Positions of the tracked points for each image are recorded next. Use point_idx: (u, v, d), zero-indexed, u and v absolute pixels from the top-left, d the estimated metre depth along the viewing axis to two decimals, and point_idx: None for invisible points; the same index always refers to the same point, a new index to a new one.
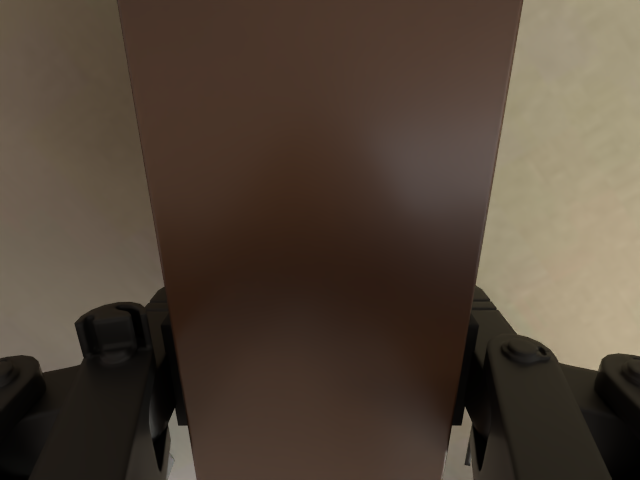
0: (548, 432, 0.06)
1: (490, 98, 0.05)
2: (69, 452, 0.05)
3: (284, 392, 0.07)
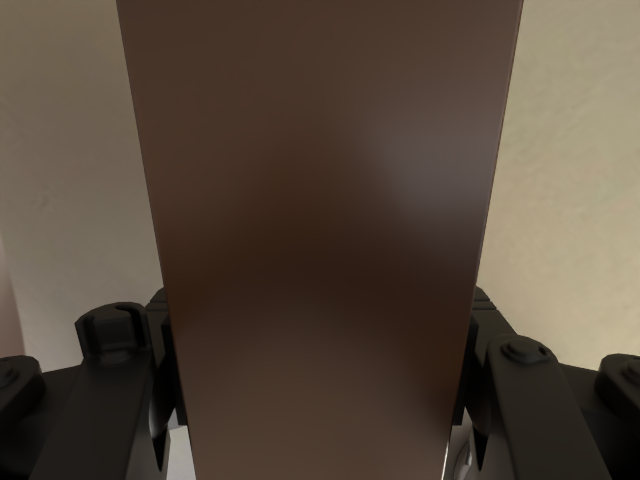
0: (548, 432, 0.06)
1: (491, 96, 0.05)
2: (69, 452, 0.05)
3: (284, 393, 0.07)
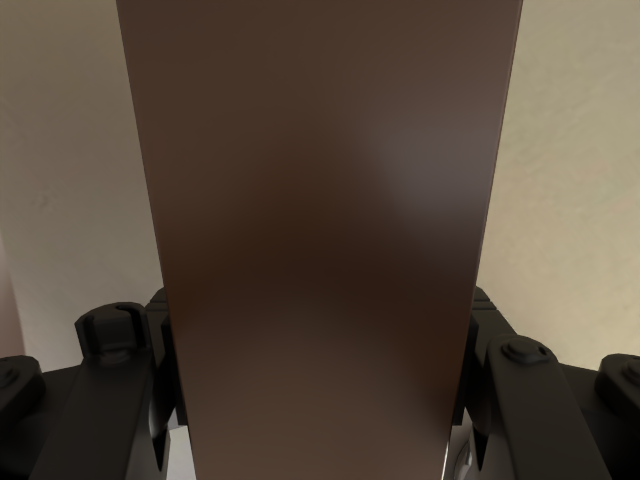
0: (549, 432, 0.06)
1: (489, 96, 0.05)
2: (69, 452, 0.05)
3: (284, 393, 0.07)
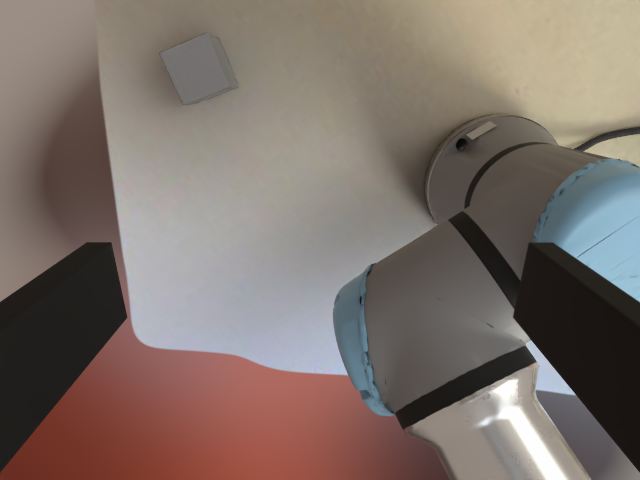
0: None
1: None
2: None
3: None
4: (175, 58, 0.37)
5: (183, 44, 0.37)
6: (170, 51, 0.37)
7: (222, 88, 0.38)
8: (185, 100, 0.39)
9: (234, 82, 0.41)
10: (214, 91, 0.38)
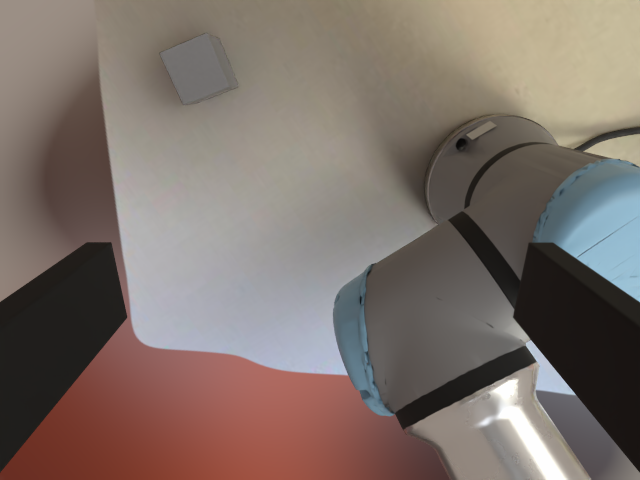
0: None
1: None
2: None
3: None
4: (175, 58, 0.37)
5: (183, 44, 0.37)
6: (170, 51, 0.37)
7: (222, 88, 0.38)
8: (185, 100, 0.39)
9: (234, 82, 0.41)
10: (214, 91, 0.38)
